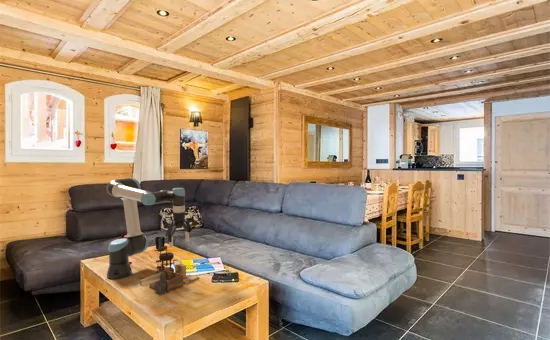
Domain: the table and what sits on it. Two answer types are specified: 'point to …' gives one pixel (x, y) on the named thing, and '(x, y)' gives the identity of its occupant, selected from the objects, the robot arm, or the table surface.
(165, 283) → the toolbox
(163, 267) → the music box
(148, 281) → the wooden stick
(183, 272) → the lid
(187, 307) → the table surface
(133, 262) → the table surface
